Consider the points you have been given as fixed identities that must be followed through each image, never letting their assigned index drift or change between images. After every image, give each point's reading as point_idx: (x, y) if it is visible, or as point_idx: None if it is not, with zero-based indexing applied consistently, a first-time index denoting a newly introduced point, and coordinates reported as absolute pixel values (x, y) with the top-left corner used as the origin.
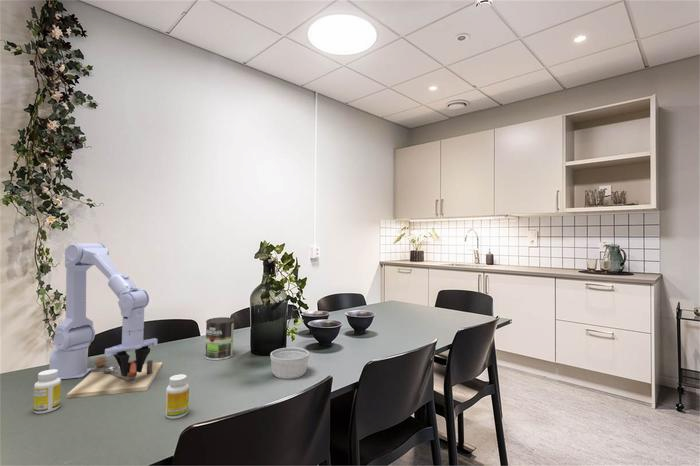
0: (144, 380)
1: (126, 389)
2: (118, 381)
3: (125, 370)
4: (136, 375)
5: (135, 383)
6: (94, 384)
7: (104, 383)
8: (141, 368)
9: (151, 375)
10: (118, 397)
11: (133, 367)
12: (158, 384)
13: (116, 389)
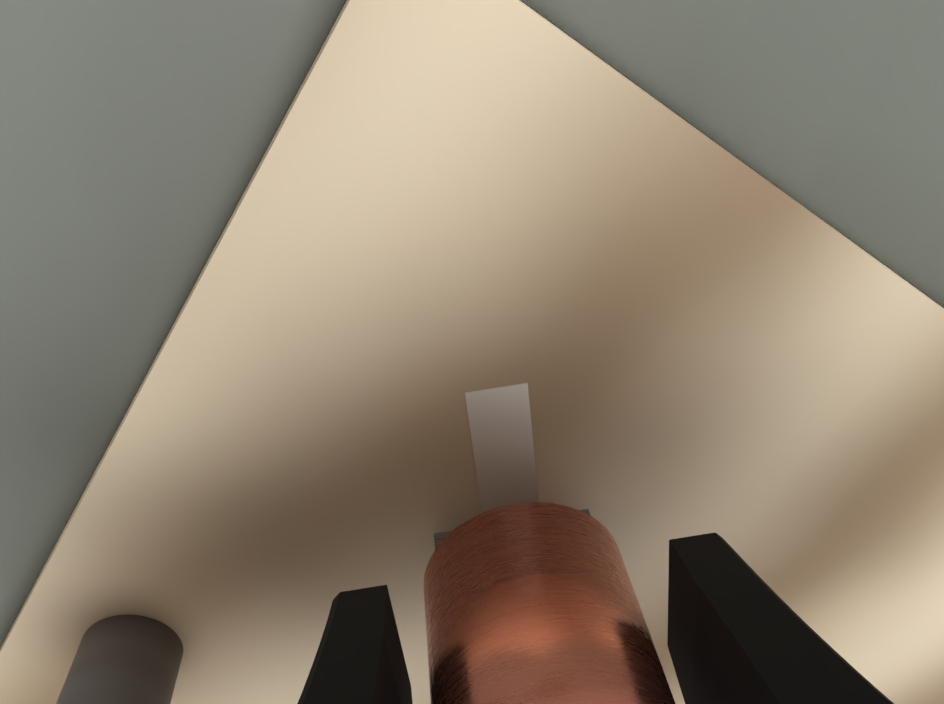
0: (314, 363)
1: (746, 171)
2: (665, 597)
3: (800, 634)
4: (444, 540)
5: (513, 324)
6: (918, 675)
7: (829, 636)
8: (339, 653)
9: (122, 529)
10: (934, 6)
11: (574, 698)
12: (65, 106)
13: (888, 270)
